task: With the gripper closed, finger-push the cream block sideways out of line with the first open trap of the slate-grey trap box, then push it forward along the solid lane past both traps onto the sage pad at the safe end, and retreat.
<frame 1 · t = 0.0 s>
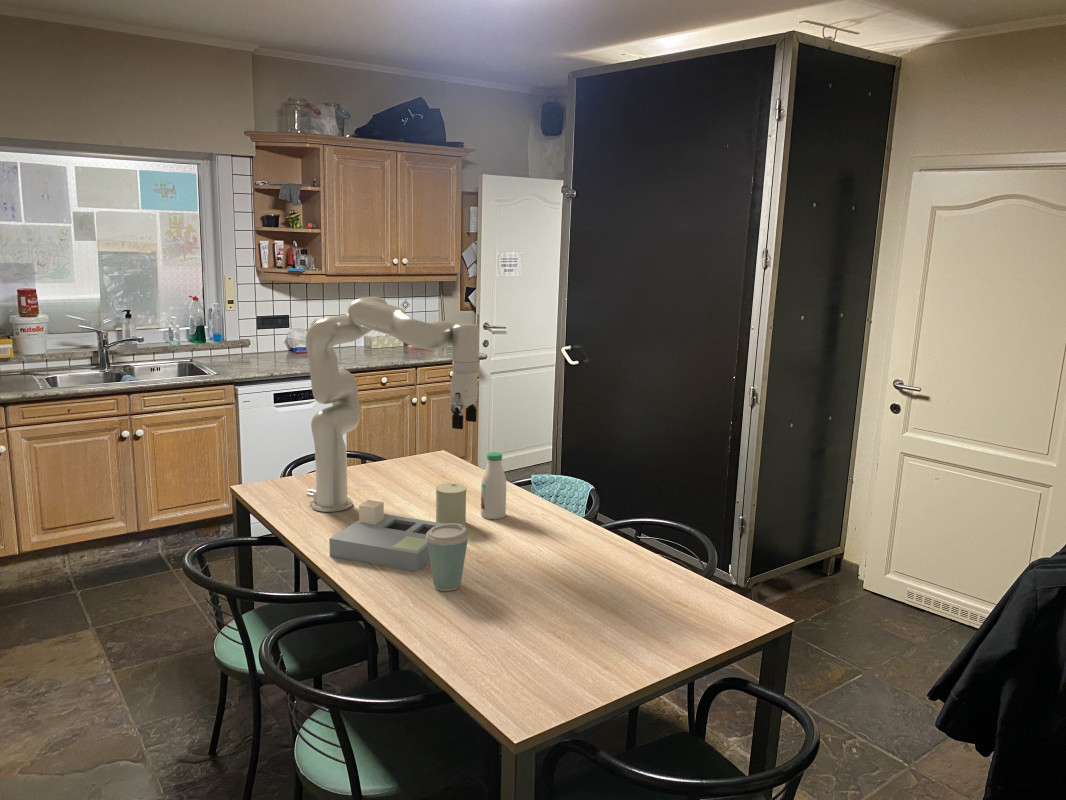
hand: (464, 424, 226), 31 cm above the table, fingers open, 9 cm apart
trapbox: (393, 548, 214), on the table
block: (371, 520, 221), point 5 cm above the table, touching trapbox
milk bottle: (493, 516, 242), on the table
disposable coffee cup: (446, 586, 193), on the table
can: (450, 525, 234), on the table
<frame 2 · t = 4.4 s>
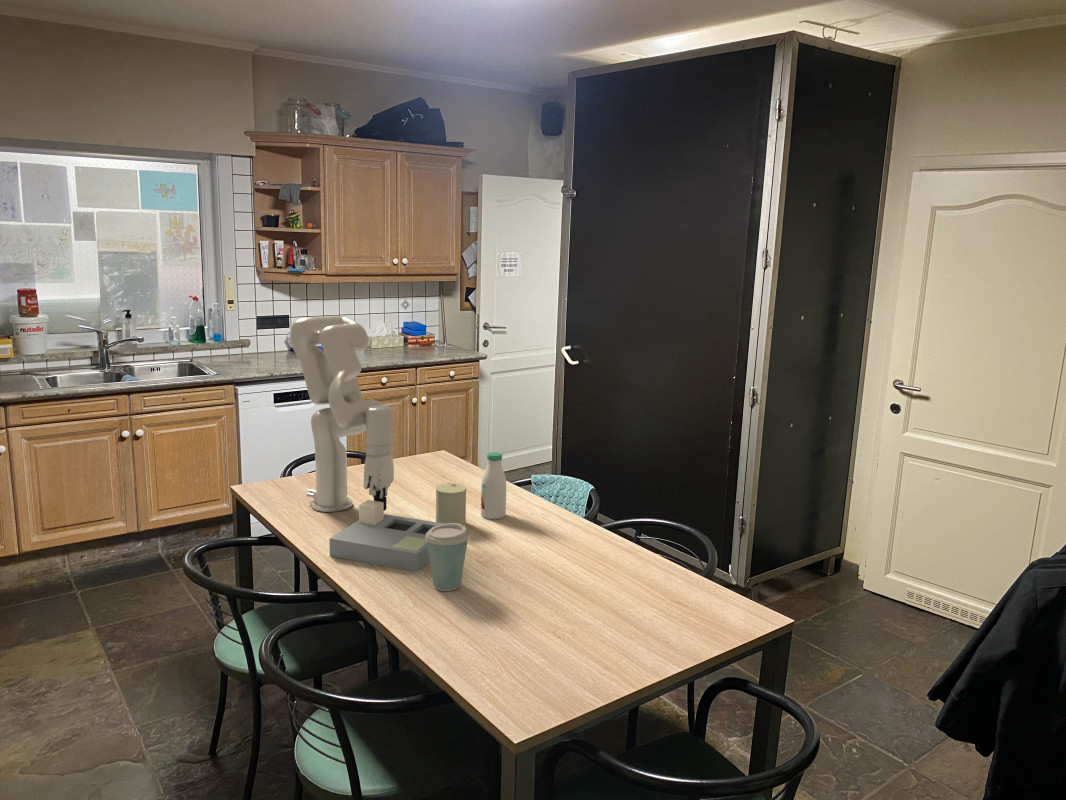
hand: (380, 509, 225), 7 cm above the table, fingers closed
block: (371, 520, 221), point 5 cm above the table, touching gripper
everything else where it was.
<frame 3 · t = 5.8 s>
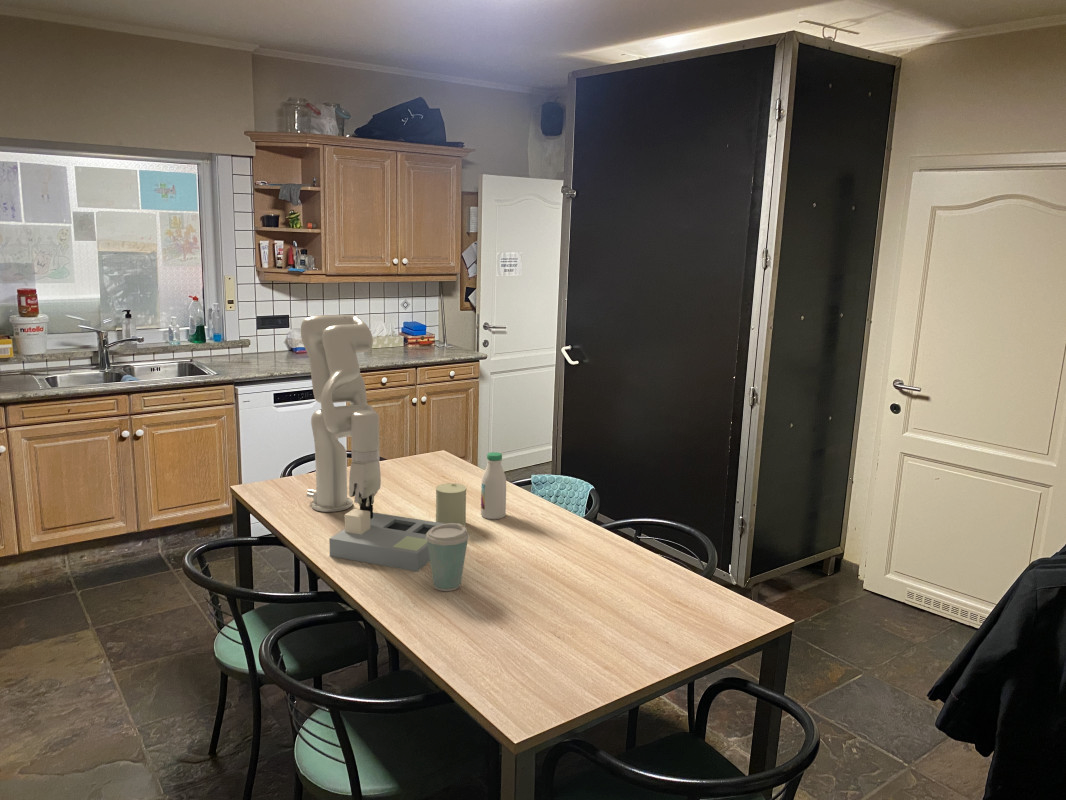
hand: (366, 518, 217), 7 cm above the table, fingers closed
block: (357, 530, 213), point 5 cm above the table, touching gripper
everything else where it was.
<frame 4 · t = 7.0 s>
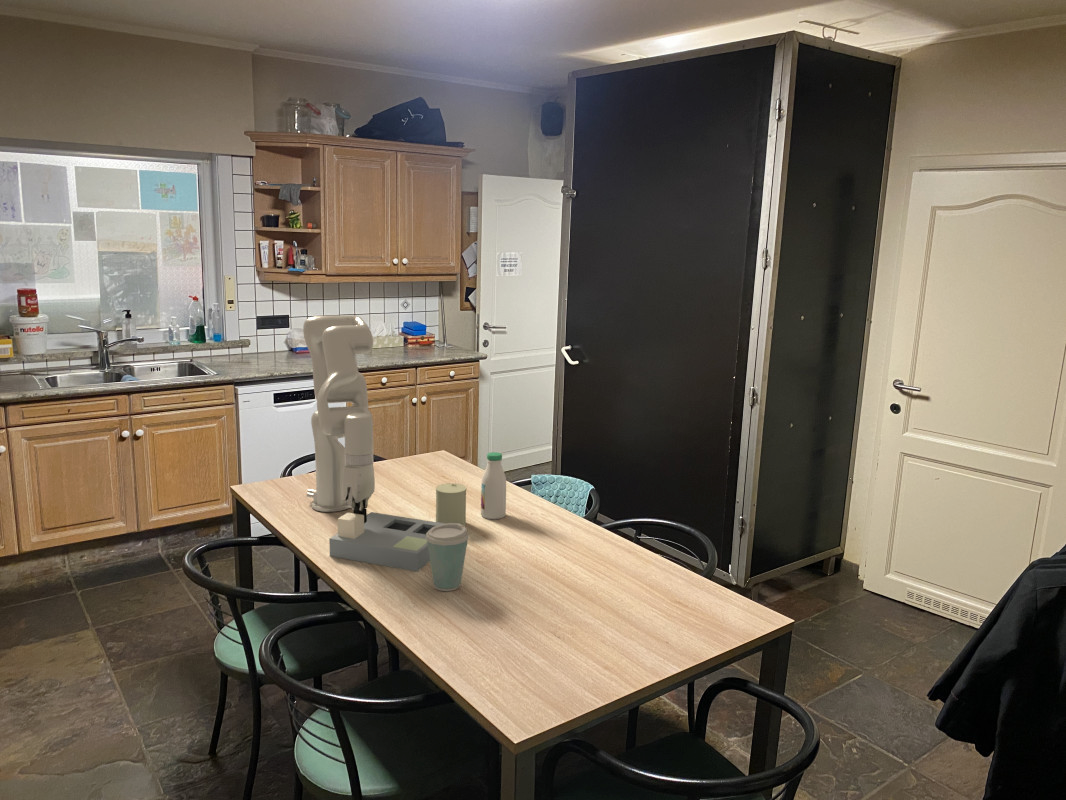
hand: (360, 522, 214), 7 cm above the table, fingers closed
block: (351, 534, 210), point 5 cm above the table, touching gripper, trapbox
everything else where it was.
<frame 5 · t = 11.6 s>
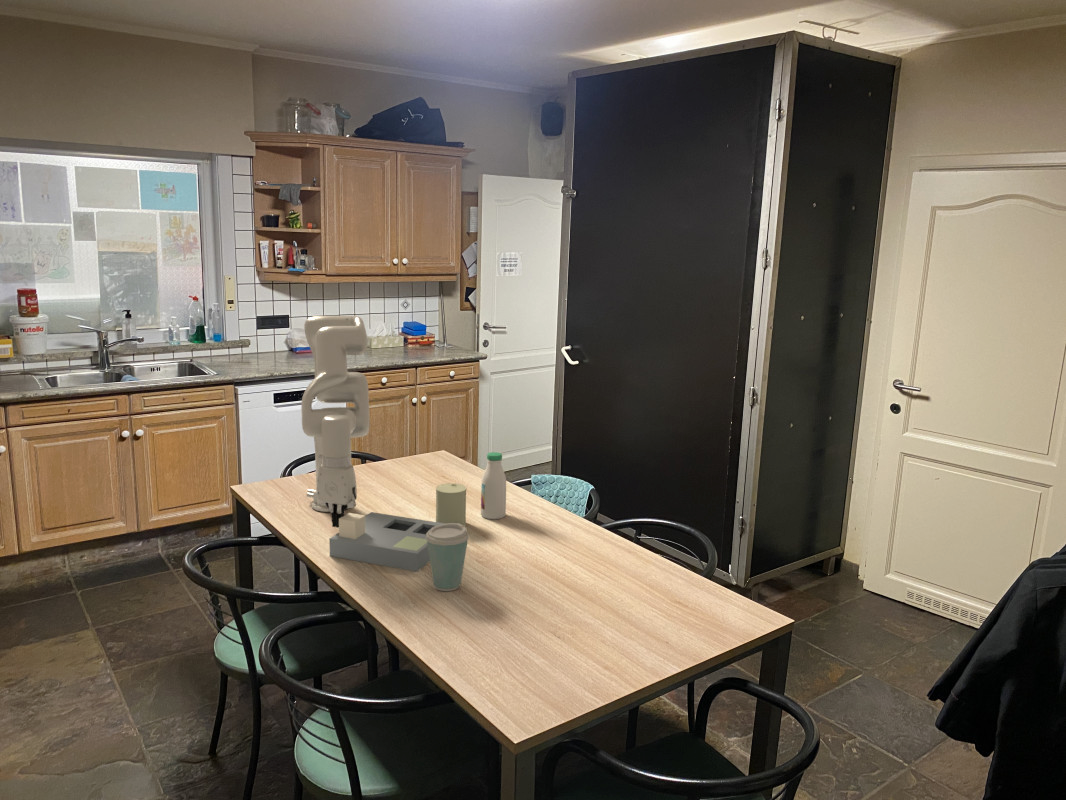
hand: (338, 525, 212), 7 cm above the table, fingers closed
block: (352, 534, 210), point 5 cm above the table, touching gripper
everything else where it was.
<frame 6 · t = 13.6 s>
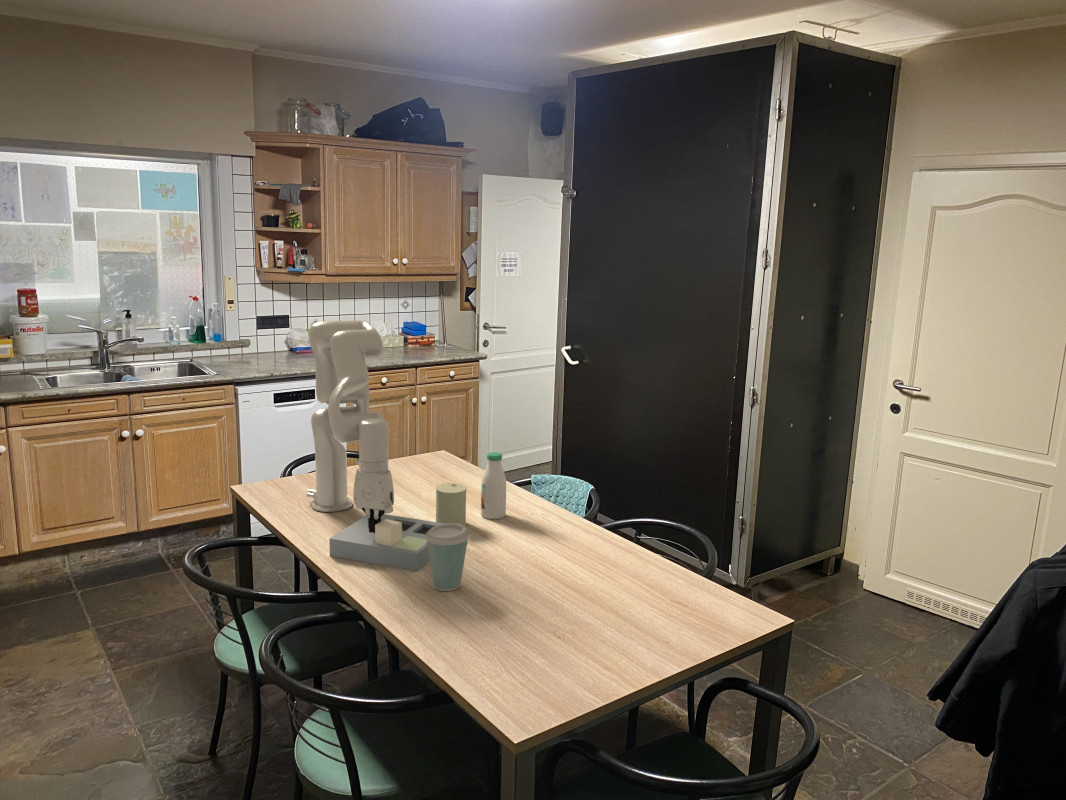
hand: (374, 531, 208), 7 cm above the table, fingers closed
block: (388, 541, 206), point 5 cm above the table, touching gripper, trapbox
everything else where it was.
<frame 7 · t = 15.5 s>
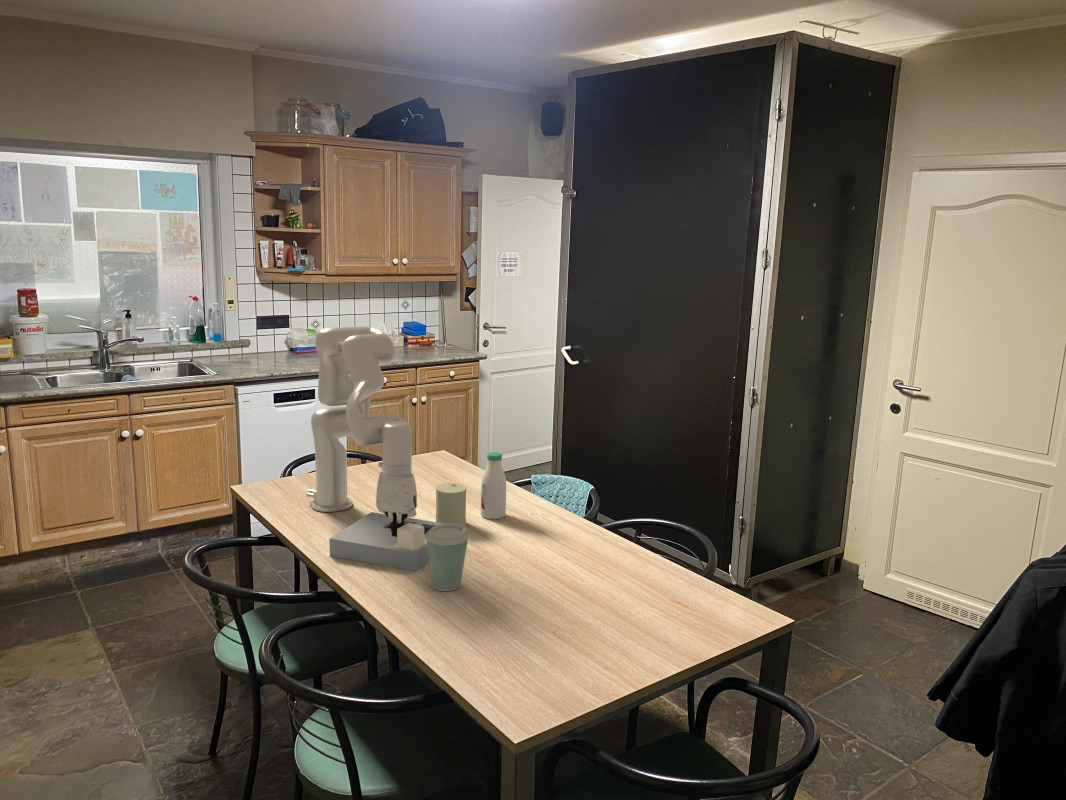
hand: (397, 534, 206), 7 cm above the table, fingers closed
block: (410, 545, 204), point 5 cm above the table, touching gripper, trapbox
everything else where it was.
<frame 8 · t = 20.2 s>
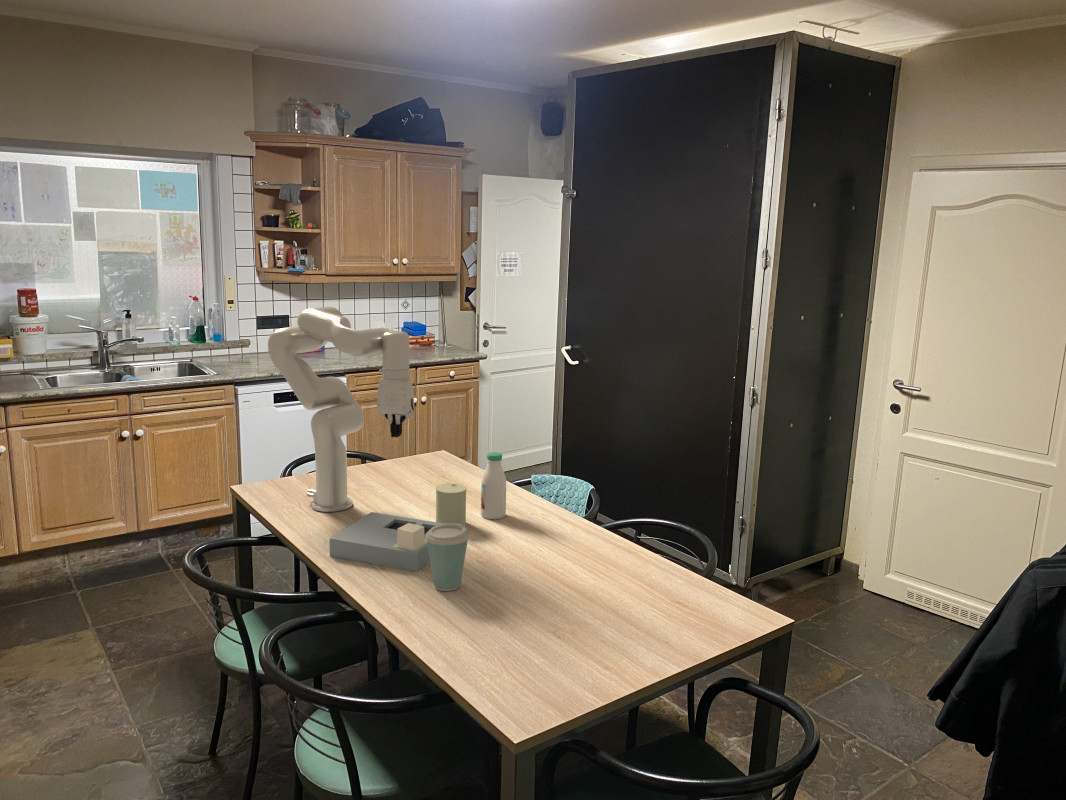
hand: (396, 436, 227), 27 cm above the table, fingers closed
block: (410, 545, 204), point 5 cm above the table, touching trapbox
everything else where it was.
at the end: block inside the target area on the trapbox (1.6 cm from its centre), point 5.0 cm above the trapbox's base; block tilted 0° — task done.
